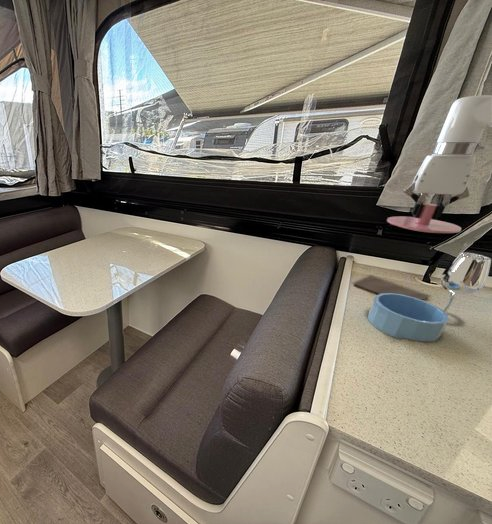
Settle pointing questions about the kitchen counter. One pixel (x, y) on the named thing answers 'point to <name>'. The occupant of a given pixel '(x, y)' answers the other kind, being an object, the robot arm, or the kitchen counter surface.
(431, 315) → the bowl
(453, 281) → the wineglass
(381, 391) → the kitchen counter surface
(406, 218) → the pink knobbed lid
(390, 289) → the board
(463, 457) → the kitchen counter surface
